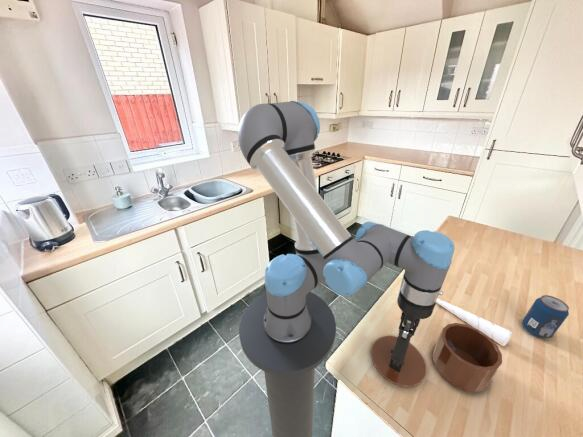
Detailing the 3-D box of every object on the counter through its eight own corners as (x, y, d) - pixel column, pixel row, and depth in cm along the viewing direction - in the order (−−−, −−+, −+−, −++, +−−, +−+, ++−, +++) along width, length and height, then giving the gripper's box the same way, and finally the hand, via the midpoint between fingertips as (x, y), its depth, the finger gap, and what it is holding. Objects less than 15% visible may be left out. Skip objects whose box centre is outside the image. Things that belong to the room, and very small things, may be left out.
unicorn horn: (432, 291, 89) (435, 281, 87) (509, 341, 71) (516, 331, 69) (424, 296, 87) (427, 286, 85) (502, 350, 69) (509, 339, 67)
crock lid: (363, 367, 66) (367, 347, 62) (380, 330, 76) (384, 311, 71) (418, 400, 59) (427, 380, 54) (429, 355, 68) (437, 335, 64)
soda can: (532, 319, 78) (550, 291, 72) (557, 338, 72) (579, 310, 66) (514, 323, 77) (531, 295, 71) (538, 342, 71) (559, 314, 65)
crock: (428, 372, 64) (438, 350, 60) (436, 337, 73) (445, 315, 69) (487, 403, 58) (503, 381, 53) (487, 360, 67) (501, 338, 62)
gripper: (427, 336, 46) (403, 399, 57) (442, 275, 60) (421, 335, 71) (387, 317, 50) (372, 379, 61) (410, 264, 64) (395, 322, 75)
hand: (398, 355), depth 66 cm, fingers open, 8 cm apart
